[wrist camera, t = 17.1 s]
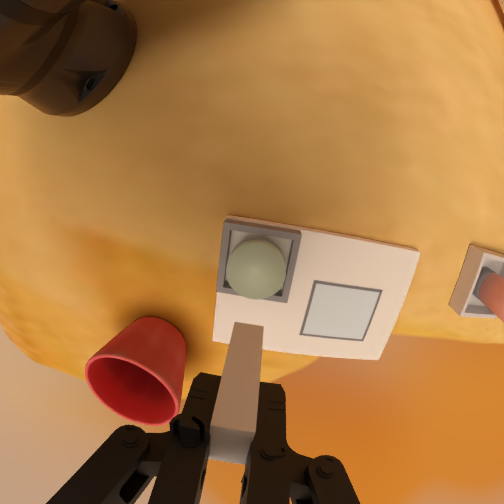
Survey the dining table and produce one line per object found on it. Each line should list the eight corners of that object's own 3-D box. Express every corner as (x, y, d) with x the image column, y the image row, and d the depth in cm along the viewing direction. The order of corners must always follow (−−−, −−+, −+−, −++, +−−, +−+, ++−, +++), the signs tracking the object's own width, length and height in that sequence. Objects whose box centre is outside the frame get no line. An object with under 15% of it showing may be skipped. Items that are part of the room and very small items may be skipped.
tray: (469, 244, 25) (483, 252, 22) (504, 254, 25) (517, 262, 22) (448, 304, 28) (459, 316, 25) (484, 307, 28) (495, 318, 25)
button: (232, 233, 24) (229, 239, 23) (289, 243, 24) (291, 249, 22) (226, 285, 26) (223, 294, 24) (279, 294, 26) (279, 303, 24)
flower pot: (217, 358, 32) (200, 418, 23) (155, 380, 35) (131, 430, 26) (164, 290, 30) (126, 341, 21) (106, 323, 32) (68, 368, 23)
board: (227, 214, 26) (222, 220, 24) (415, 248, 26) (426, 256, 24) (214, 334, 31) (210, 348, 29) (375, 354, 31) (381, 367, 28)
